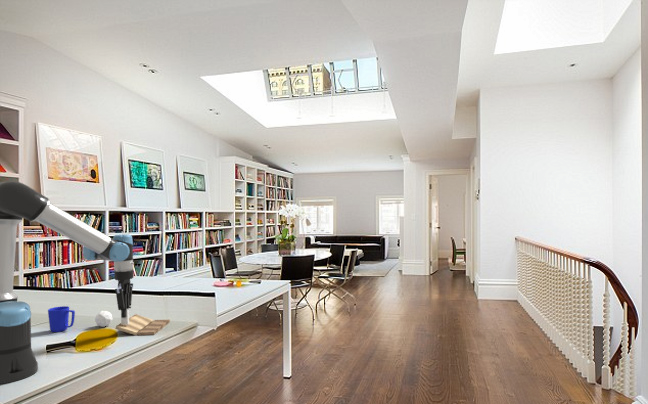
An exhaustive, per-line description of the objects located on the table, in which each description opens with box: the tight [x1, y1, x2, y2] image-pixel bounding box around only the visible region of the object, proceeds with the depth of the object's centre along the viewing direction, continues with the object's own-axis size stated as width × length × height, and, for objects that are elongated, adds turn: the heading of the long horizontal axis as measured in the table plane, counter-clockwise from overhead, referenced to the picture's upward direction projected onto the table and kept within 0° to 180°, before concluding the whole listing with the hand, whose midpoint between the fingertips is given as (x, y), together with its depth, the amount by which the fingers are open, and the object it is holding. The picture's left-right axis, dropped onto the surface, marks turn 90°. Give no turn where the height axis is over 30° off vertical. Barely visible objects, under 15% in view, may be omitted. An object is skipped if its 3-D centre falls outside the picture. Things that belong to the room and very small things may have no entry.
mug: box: [47, 305, 76, 333], centre depth 194 cm, size 8×12×10 cm
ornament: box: [94, 310, 113, 328], centre depth 199 cm, size 7×7×8 cm
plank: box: [115, 313, 155, 336], centre depth 193 cm, size 20×9×1 cm, turn 1°
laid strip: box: [136, 319, 171, 336], centre depth 193 cm, size 20×8×1 cm, turn 1°
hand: (125, 324), depth 187 cm, fingers closed
